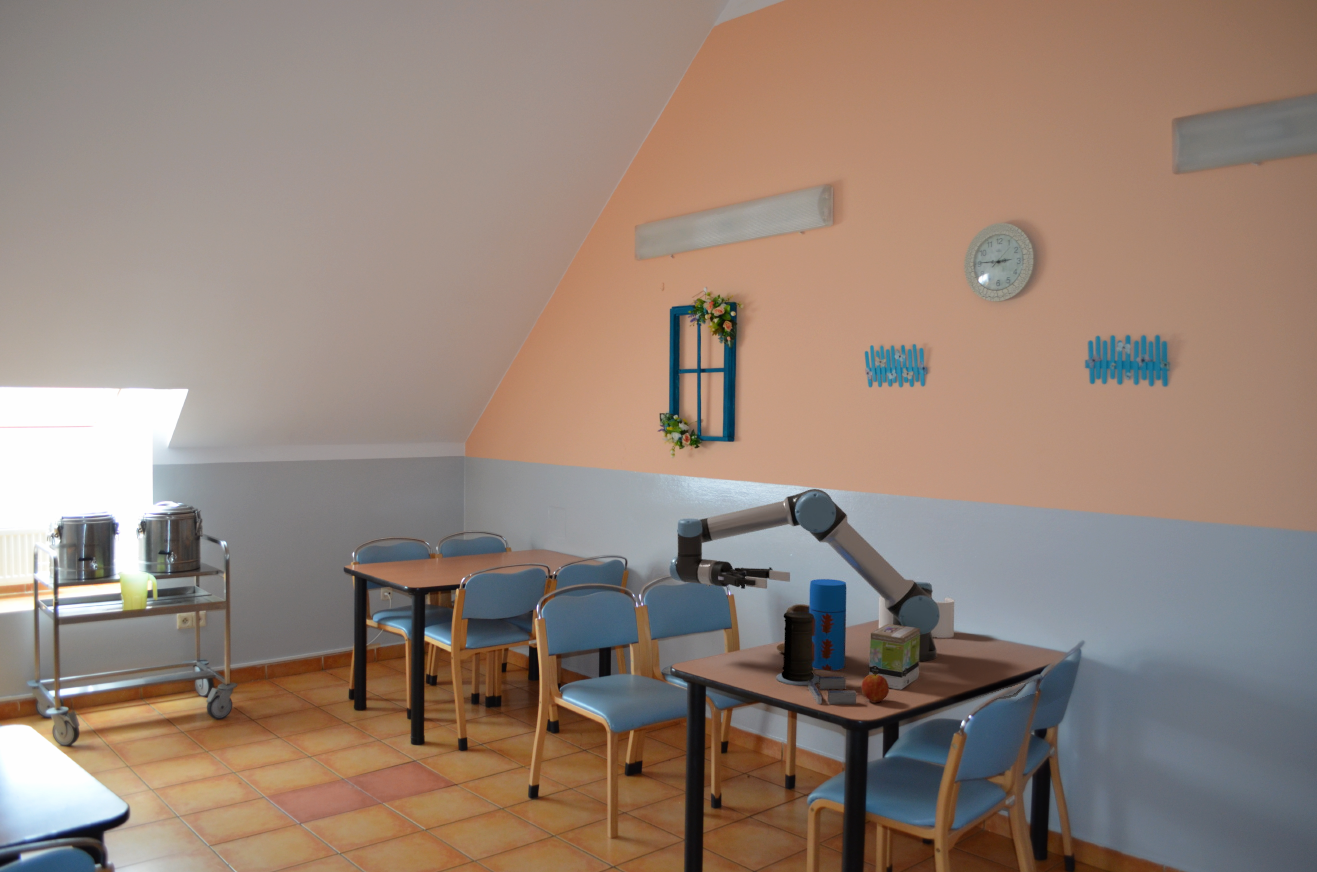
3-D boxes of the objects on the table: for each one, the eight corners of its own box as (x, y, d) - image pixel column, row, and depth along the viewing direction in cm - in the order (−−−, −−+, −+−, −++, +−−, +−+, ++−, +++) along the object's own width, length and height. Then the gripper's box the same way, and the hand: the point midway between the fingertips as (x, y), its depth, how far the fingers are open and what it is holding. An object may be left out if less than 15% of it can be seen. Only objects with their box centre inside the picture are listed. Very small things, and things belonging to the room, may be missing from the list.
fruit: (855, 699, 251) (856, 669, 250) (875, 695, 254) (876, 666, 254) (874, 706, 245) (874, 675, 244) (894, 702, 248) (894, 672, 248)
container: (814, 674, 272) (815, 611, 271) (812, 682, 263) (813, 618, 263) (783, 671, 274) (784, 609, 273) (780, 680, 265) (781, 616, 265)
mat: (815, 673, 275) (815, 671, 275) (823, 685, 263) (823, 683, 263) (774, 673, 274) (774, 671, 274) (779, 685, 262) (779, 683, 262)
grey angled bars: (844, 687, 261) (844, 676, 261) (856, 704, 246) (856, 692, 246) (807, 687, 261) (808, 676, 261) (817, 703, 246) (817, 692, 246)
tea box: (903, 690, 259) (904, 636, 258) (867, 684, 264) (868, 632, 264) (919, 678, 272) (920, 626, 271) (885, 672, 277) (886, 622, 277)
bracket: (879, 635, 323) (880, 599, 323) (877, 628, 333) (878, 594, 333) (955, 638, 320) (956, 603, 319) (951, 632, 329) (952, 597, 329)
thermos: (844, 671, 277) (846, 586, 277) (807, 669, 279) (809, 584, 279) (845, 661, 288) (846, 579, 287) (809, 659, 290) (810, 578, 289)
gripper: (737, 579, 298) (798, 586, 285) (693, 591, 278) (756, 600, 265) (737, 555, 298) (798, 561, 285) (693, 566, 278) (756, 573, 265)
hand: (778, 580), depth 275 cm, fingers open, 13 cm apart
